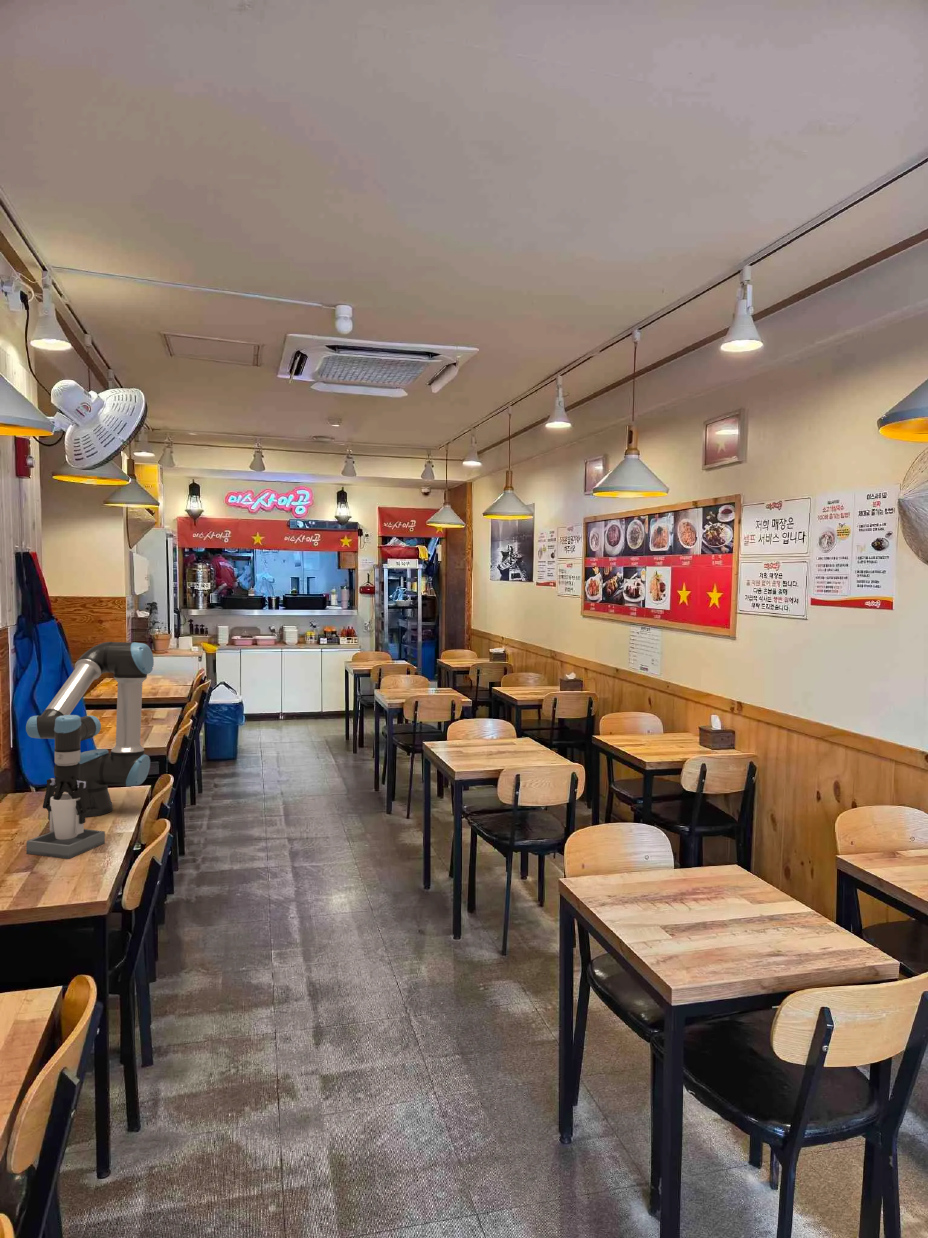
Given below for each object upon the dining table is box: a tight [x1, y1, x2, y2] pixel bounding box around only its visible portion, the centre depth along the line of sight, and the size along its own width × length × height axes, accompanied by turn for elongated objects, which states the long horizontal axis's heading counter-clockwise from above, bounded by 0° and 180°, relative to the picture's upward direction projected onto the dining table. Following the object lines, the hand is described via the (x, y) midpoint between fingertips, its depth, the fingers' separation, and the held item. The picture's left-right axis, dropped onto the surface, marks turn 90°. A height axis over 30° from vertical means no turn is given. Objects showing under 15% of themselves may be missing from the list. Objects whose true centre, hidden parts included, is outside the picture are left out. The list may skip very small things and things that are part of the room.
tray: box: [25, 828, 106, 860], centre depth 248 cm, size 16×16×4 cm
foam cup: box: [50, 792, 80, 840], centre depth 247 cm, size 10×9×13 cm
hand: (66, 831), depth 247 cm, fingers closed on foam cup, 9 cm apart
